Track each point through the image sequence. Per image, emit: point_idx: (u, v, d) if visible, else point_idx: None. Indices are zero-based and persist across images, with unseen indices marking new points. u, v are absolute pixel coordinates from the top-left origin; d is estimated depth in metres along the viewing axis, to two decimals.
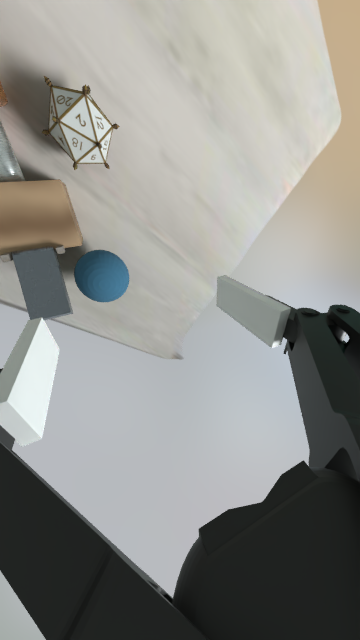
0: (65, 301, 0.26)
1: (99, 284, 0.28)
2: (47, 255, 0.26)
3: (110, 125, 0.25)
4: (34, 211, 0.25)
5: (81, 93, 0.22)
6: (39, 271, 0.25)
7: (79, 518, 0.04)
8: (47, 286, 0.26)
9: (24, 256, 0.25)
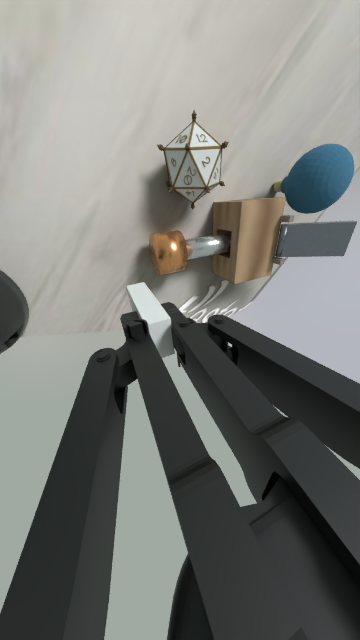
0: (343, 224, 0.27)
1: (342, 184, 0.26)
2: (291, 230, 0.29)
3: (195, 123, 0.22)
4: (256, 231, 0.29)
5: (187, 153, 0.21)
6: (303, 240, 0.30)
7: (193, 425, 0.06)
8: (319, 236, 0.29)
9: (283, 248, 0.31)
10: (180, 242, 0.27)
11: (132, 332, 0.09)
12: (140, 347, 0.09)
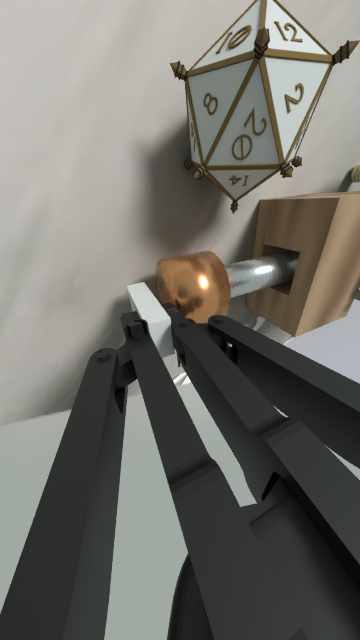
0: None
1: None
2: None
3: None
4: (345, 253, 0.16)
5: (254, 67, 0.08)
6: None
7: (193, 425, 0.06)
8: None
9: None
10: (218, 277, 0.14)
11: (132, 332, 0.09)
12: (140, 347, 0.09)
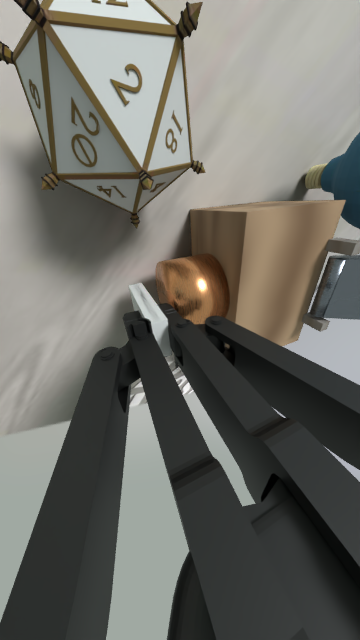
0: None
1: None
2: (352, 272, 0.14)
3: None
4: (276, 274, 0.13)
5: (44, 39, 0.06)
6: None
7: (196, 425, 0.06)
8: None
9: (330, 303, 0.15)
10: (217, 280, 0.14)
11: (135, 331, 0.10)
12: (143, 346, 0.09)
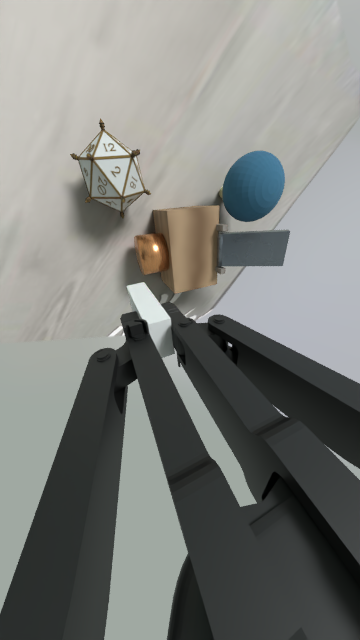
0: (276, 233, 0.26)
1: (270, 193, 0.24)
2: (227, 240, 0.28)
3: (103, 132, 0.21)
4: (190, 241, 0.28)
5: (92, 163, 0.20)
6: (240, 249, 0.29)
7: (193, 425, 0.06)
8: (256, 246, 0.28)
9: (223, 258, 0.30)
10: (161, 244, 0.28)
11: (132, 332, 0.09)
12: (140, 347, 0.09)
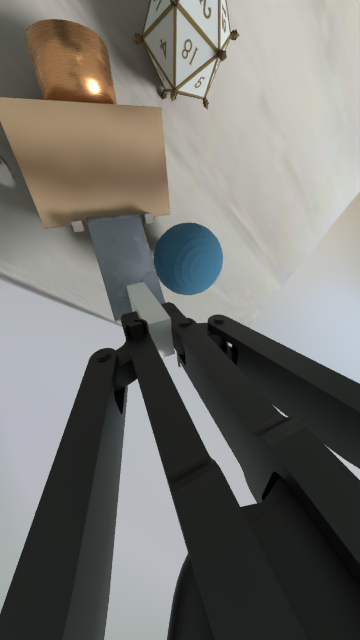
0: (159, 291, 0.18)
1: (198, 268, 0.20)
2: (133, 224, 0.18)
3: (229, 31, 0.17)
4: (120, 157, 0.17)
5: None
6: (123, 247, 0.17)
7: (193, 425, 0.06)
8: (135, 269, 0.17)
9: (102, 224, 0.17)
10: (105, 96, 0.15)
11: (132, 332, 0.09)
12: (140, 347, 0.09)
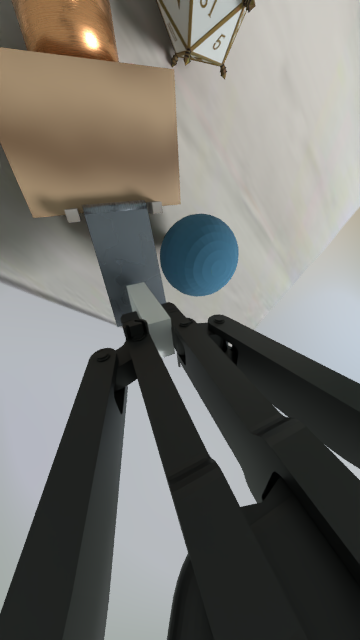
0: (162, 297, 0.18)
1: (212, 266, 0.17)
2: (138, 218, 0.15)
3: None
4: (123, 131, 0.14)
5: None
6: (127, 247, 0.16)
7: (193, 425, 0.06)
8: (138, 273, 0.16)
9: (102, 216, 0.15)
10: (105, 53, 0.13)
11: (132, 332, 0.09)
12: (140, 347, 0.09)
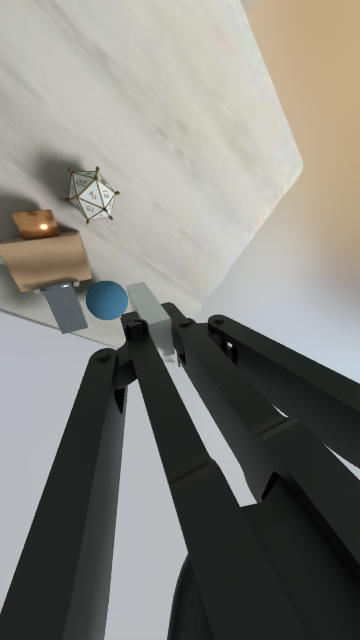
0: (83, 321, 0.38)
1: (105, 308, 0.37)
2: (68, 290, 0.35)
3: (113, 193, 0.34)
4: (58, 257, 0.34)
5: (93, 178, 0.31)
6: (63, 301, 0.36)
7: (193, 425, 0.06)
8: (70, 311, 0.37)
9: (51, 290, 0.34)
10: (49, 232, 0.33)
11: (132, 332, 0.09)
12: (140, 347, 0.09)
